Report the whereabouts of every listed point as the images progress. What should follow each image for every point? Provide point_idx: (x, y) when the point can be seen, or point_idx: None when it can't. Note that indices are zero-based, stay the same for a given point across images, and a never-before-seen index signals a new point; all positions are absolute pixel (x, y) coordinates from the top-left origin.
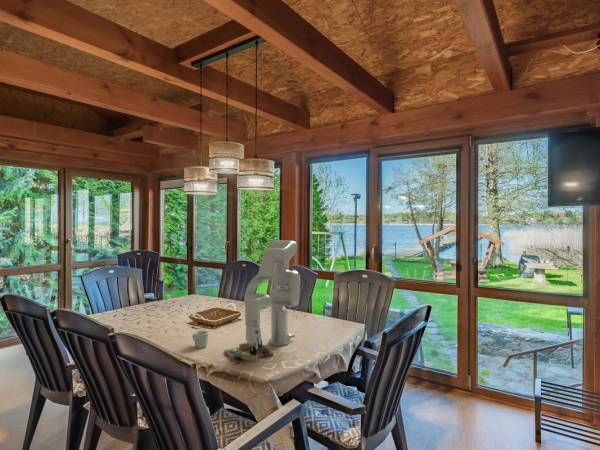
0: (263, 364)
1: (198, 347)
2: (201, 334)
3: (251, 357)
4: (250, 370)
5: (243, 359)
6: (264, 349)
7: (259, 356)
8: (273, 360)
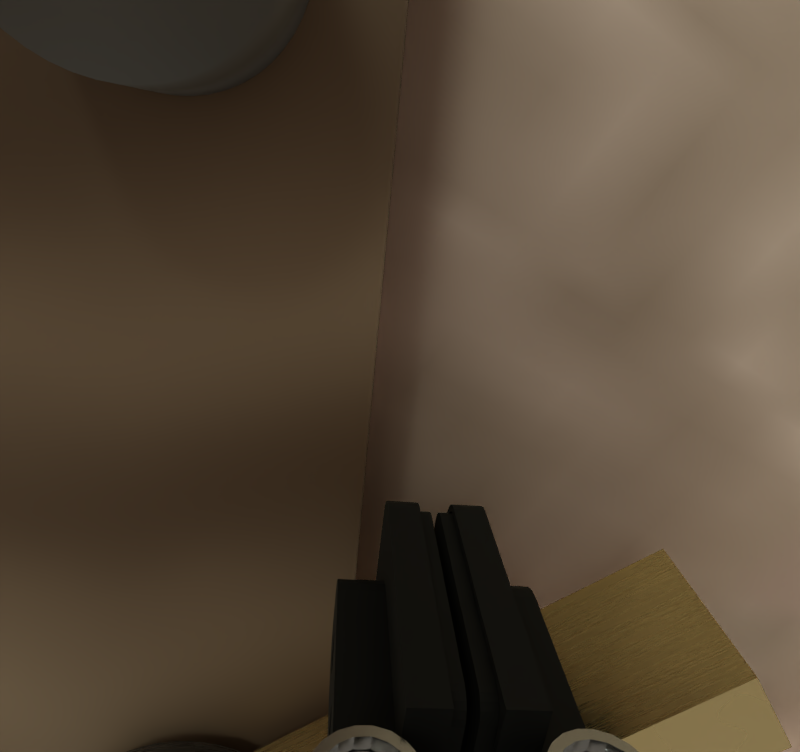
0: (735, 393)
1: None
2: None
3: None
4: None
5: None
6: (188, 17)
7: (376, 337)
8: (742, 4)
